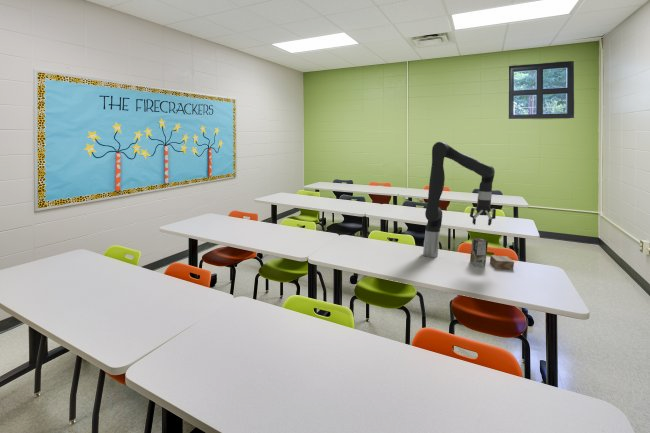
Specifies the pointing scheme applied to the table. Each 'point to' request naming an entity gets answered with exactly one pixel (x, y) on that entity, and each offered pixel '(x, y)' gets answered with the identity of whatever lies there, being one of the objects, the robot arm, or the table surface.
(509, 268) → the walnut block
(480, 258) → the coffee box
